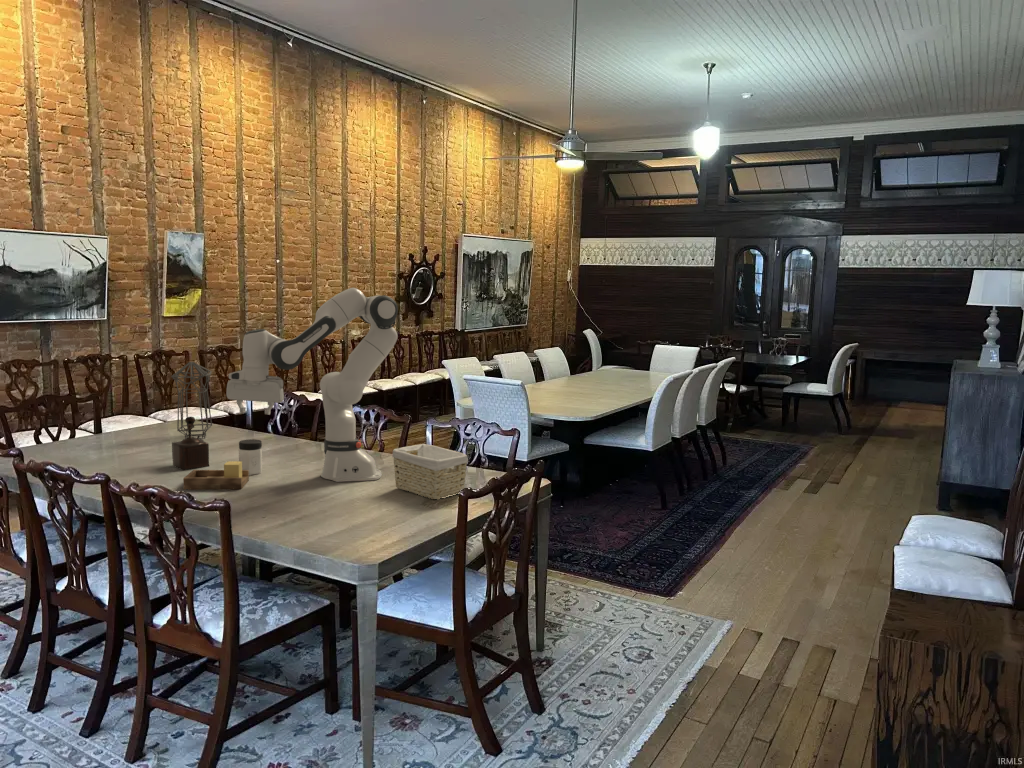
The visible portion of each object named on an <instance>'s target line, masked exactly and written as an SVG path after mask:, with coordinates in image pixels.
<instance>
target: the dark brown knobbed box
mask: <svg viewBox="0 0 1024 768" xmlns="http://www.w3.org/2000/svg"><path fill="white" fill-rule="evenodd" d="M184 422H185V423H186V425H187V424H188V427H187V426H186V428H185V429H184V428H183V431H184V432H186V431H187V432H188V431H189V436H188V438H185V437H184V439H181V440H179V441H174V442H171V455H172V456H171V457H172V466H173V467H175V468H177V469H179V470H182V471H188V470H197V469H202V468H207V467H210V453H209V450H210V444H209V443H208V442H207V441H204V439H198V438H200V435H199V436H197V437H196V436H191V434H192V432H191V430H193V429H194V428H195V426H194V425H195V424H194V423H195V422H196V417H194V416H188V417H187V416H186V417H185V419H184ZM183 431H182V432H183Z"/></svg>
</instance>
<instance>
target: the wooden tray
mask: <svg viewBox="0 0 1024 768" xmlns="http://www.w3.org/2000/svg"><path fill="white" fill-rule="evenodd" d="M249 477H250V475H249V470H242V478H224V469H192V471H190V472H189V473H188V474H187V475H186V476H184V477H183V480H182V481H183V490H186V489H188V490H196V491H197V490H199V491H201V490H203V491H205V490H209V491H211V490H212V491H214V490H217V491H218V490H220V491H221V490H226V491H227V490H228V491H229V490H232V491H233V490H234V491H235V490H236V491H238V490H243V488H244V487H245V486H246V484H247V483H248V482H249V480H250V478H249Z"/></svg>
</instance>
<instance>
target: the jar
mask: <svg viewBox="0 0 1024 768" xmlns="http://www.w3.org/2000/svg"><path fill="white" fill-rule="evenodd" d="M262 442H263V441H262V440H261V439H243V440H242V439H241V440H240V441H239V442H238V461H242V470H249V476H252V475H260V474H261V473H262V471H263V447H262V446H263V443H262Z"/></svg>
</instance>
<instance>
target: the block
mask: <svg viewBox="0 0 1024 768" xmlns="http://www.w3.org/2000/svg"><path fill="white" fill-rule="evenodd" d="M223 470H224V478H242V461H239V460H238V461H235V460H234V461H232V460H231V461H229V460H227V461H226V462H225V463H224V464H223Z"/></svg>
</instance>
